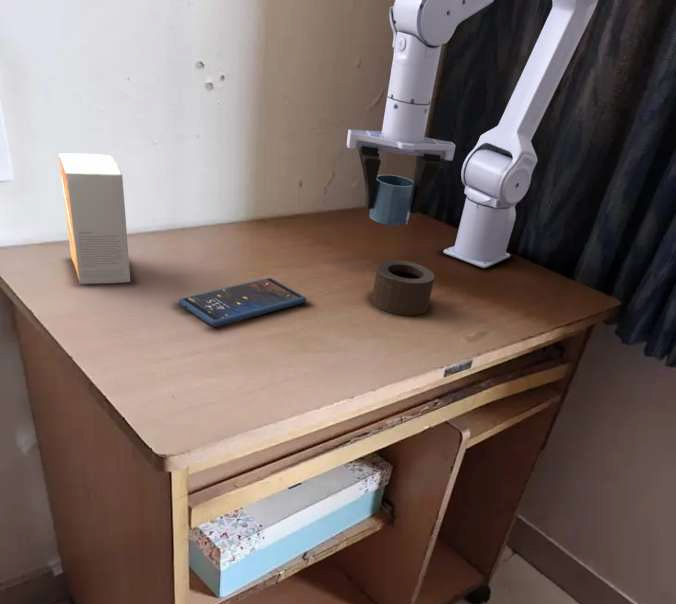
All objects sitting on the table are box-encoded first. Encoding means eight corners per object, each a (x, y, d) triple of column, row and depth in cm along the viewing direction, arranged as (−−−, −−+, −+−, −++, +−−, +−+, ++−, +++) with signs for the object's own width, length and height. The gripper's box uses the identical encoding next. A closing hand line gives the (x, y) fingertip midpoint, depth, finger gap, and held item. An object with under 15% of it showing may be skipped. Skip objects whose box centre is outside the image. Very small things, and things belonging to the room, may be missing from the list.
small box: (71, 259, 88) (57, 152, 79) (120, 258, 90) (112, 154, 82) (78, 285, 82) (64, 172, 74) (131, 283, 85) (123, 173, 76)
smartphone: (308, 297, 86) (213, 322, 77) (307, 303, 87) (213, 329, 78) (270, 276, 90) (176, 298, 81) (269, 282, 90) (176, 304, 81)
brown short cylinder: (392, 287, 95) (398, 256, 92) (437, 306, 92) (445, 274, 89) (360, 300, 90) (365, 267, 87) (407, 321, 87) (414, 287, 84)
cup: (383, 210, 99) (390, 172, 95) (415, 221, 96) (423, 183, 93) (361, 216, 95) (366, 177, 92) (393, 228, 93) (400, 189, 89)
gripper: (358, 98, 82) (343, 212, 90) (470, 113, 84) (445, 222, 93) (351, 88, 87) (337, 196, 96) (456, 102, 90) (434, 207, 98)
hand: (390, 208), depth 95 cm, fingers closed on cup, 6 cm apart
